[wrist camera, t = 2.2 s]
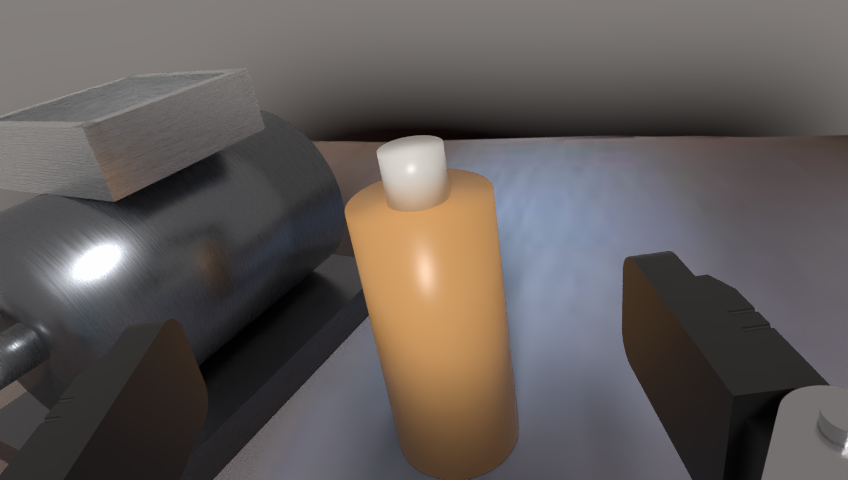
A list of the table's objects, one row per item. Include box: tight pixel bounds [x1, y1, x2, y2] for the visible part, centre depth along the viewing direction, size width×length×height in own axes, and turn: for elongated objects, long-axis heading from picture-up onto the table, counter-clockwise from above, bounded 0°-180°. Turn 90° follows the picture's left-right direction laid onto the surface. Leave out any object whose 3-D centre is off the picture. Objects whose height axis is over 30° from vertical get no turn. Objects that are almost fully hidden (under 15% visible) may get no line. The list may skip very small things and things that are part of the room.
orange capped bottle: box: [345, 135, 519, 480], centre depth 24 cm, size 6×6×14 cm
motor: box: [0, 68, 369, 480], centre depth 30 cm, size 22×13×16 cm, turn 152°
